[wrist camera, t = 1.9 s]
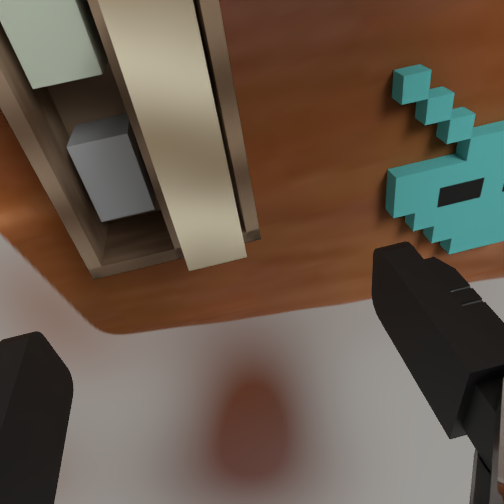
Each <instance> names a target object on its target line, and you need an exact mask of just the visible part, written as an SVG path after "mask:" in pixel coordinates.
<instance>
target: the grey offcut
mask: <svg viewBox="0 0 504 504" xmlns="http://www.w3.org/2000/svg"><path fill="white" fill-rule="evenodd" d="M67 149H68V152H69V154H70V156H71V158H72V160H73V162H74V164H75V167H76V169H77V171H78V173H79V175H80V177H81V179H82V181H83V184H84V186H85V188H86V190H87V192H88V194H89V196H90V198H91V201H92V203H93V205H94V207H95V209H96V211H97V213H98V215H99V218H100V220H101V222H104V221H108V220H112V219H116V218H121V217H125V216H129V215H134V214H138V213H142V212H146V211H151V210H155V191H154V189H153V186H152V183H151V180H150V177H149V174H148V171H147V169H146V166H145V163H144V160H143V157H142V154H141V152H140V149H139V146H138V143H137V140H136V137H135V134H134V132H133V129H132V126H131V123H130V120H129V117H128V115H127V113H126V114H122V115H117V116H113V117H108V118H104V119H99V120H95V121H90V122H86V123H81V124H77V125H75V127H74V130H73V132H72V134H71V137H70V139H69V142H68V144H67Z"/></svg>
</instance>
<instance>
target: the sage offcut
mask: <svg viewBox="0 0 504 504" xmlns="http://www.w3.org/2000/svg"><path fill="white" fill-rule="evenodd" d="M0 22H1V24H2V26H3V28H4V30H5V32H6V34H7V36H8V38H9V40H10V42H11V45H12V47H13V49H14V51H15V53H16V55H17V57H18V59H19V61H20V63H21V65H22V68H23V70H24V72H25V74H26V76H27V78H28V80H29V82H30V84H31V86H32V88H33V89H36V88H41V87H46V86H50V85H55V84H60V83H64V82H69V81H73V80H78V79H83V78H87V77H92V76H97V75H101V74H103V71H104V69H105V66H106V63H107V60H108V58H107V55H106V52H105V49H104V46H103V43H102V40H101V38H100V35H99V32H98V29H97V26H96V23H95V20H94V18H93V15H92V12H91V9H90V6H89V3H88V1H87V0H0Z"/></svg>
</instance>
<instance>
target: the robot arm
mask: <svg viewBox="0 0 504 504" xmlns="http://www.w3.org/2000/svg"><path fill="white" fill-rule="evenodd" d="M372 300H373V305H374V308H375V311H376V314H377V316H378V317H379V319H380V321H381V323H382V325H383V326H384V328H385V330H386V331H387V333H388V335H389V337H390V338H391V340H392V342H393V343H394V345H395V347H396V349H397V350H398V352H399V353H400V355H401V357H402V359H403V360H404V362H405V364H406V366H407V367H408V369H409V371H410V372H411V374H412V376H413V378H414V379H415V381H416V383H417V384H418V386H419V388H420V389H421V391H422V393H423V395H424V396H425V398H426V400H427V401H428V403H429V405H430V406H431V408H432V410H433V411H434V413H435V415H436V417H437V418H438V420H439V422H440V424H441V425H442V427H443V429H444V430H445V432H446V434H447V435H448V437H449V439H453V438H456V437H460V436H463V435H468V437H469V439H470V440H471V442H472V443H473V445H474V447H475V448H476V449H475V453H474V461H473V472H472V483H471V492H470V503H469V504H504V323H503V321H502V320H501V319H500V318H499V317H498V316H497V315H496V314H495V312H493V310H492V309H491V308H490V307H489V306H488V305H487V304H486V303H485V302H483V301H482V298H481V297H480V296H479V295H478V294H477V293H476V291H475V290H474V289H473V288H470V285H469V284H468V282H467V281H466V280H465V279H464V278H463V277H462V276H461V275H460V274H459V273H458V271H457V270H456V269H455V268H453V267H451V266H449V265H448V264H446V263H444V262H442V261H441V260H439V259H437V258H435V257H432V258H428V259H423V258H422V257H421V255H420V254H419V253H418V252H417V251H416V249H415V248H414V247H413V246H412V245H411V244H410V243H409V242H401V243H397V244H393V245H389V246H385V247H381V248H377V249H375V250H374V253H373V273H372ZM72 398H73V381H72V377H71V374H70V371H69V370H68V368H67V367H66V365H65V364H64V363H63V361H62V360H61V358H60V357H59V356H58V354H57V353H56V352H55V350H54V349H53V347H52V346H51V345H50V343H49V342H48V341H47V339H46V338H45V337H44V336H43V334H42V333H40V332H32V333H28V334H23V335H19V336H15V337H12V338H7V339H3V340H2V341H1V342H0V504H54V500H55V495H56V489H57V483H58V478H59V472H60V466H61V461H62V455H63V449H64V443H65V438H66V432H67V427H68V421H69V414H70V409H71V404H72Z"/></svg>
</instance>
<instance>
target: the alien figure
mask: <svg viewBox="0 0 504 504" xmlns="http://www.w3.org/2000/svg"><path fill="white" fill-rule="evenodd" d="M431 71H432V70H431V69H429V68H427V67H425V66H423V65H421V64H419V65H414V66H410V67H405V68H401V69H396V70H393V87H392V98H393V99H394V100H395V101H397V102H398V103H400V104H401V105H404V104H408V103H412V102H416V111H415V118H416V119H417V120H418V121H420V122H421V123H423V124H424V125H429V124H433V123H438V125H437V132H436V137H438V138H439V139H440V140H442V141H443V142H444V143H446V144H450V143H454V142H457V147H456V153H455V154H450V155H446V156H442V157H438V158H433V159H429V160H425V161H421V162H417V163H412V164H408V165H404V166H400V167H396V168H391V169H388V172H387V190H386V207H385V209H386V210H387V211H388V213H389V214H390V215H391V216H392V217H393V218H397V217H401V216H405V223H406V224H407V225H408V226H409V227H410V228H411V229H412V231H416V230H420V229H424V230H423V234H424V235H425V237H426V238H427V239H428V240H429V241H430V242H431V243H435V242H439V241H440V246H441V247H442V248H443V249H444V250H445V251H446V252H447V253H448V254H453V253H457V252H461V251H465V250H469V249H473V248H477V247H481V246H485V245H489V244H493V243H497V242H501V241H504V121H499V122H495V123H491V124H486V125H482V126H478V127H474V128H473V125H474V120H475V113H474V112H472V111H470V110H468V109H466V108H465V107H460V108H456V109H452V106H453V100H454V92H452V91H450V90H448V89H447V88H445V87H443V86H442V87H438V88H433V89H429V88H430V79H431Z"/></svg>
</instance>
